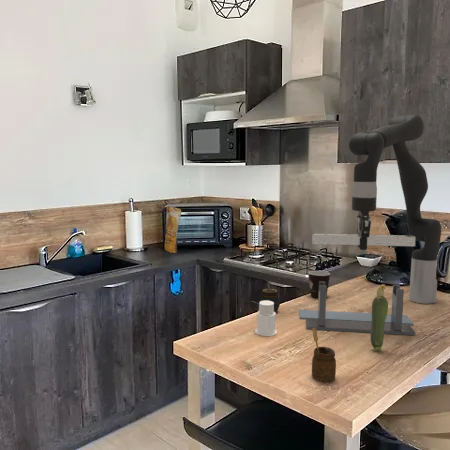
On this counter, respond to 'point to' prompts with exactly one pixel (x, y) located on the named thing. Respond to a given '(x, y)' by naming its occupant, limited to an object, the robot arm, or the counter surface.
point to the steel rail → (371, 240)
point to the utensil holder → (323, 362)
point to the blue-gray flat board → (348, 316)
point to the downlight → (266, 319)
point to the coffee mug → (317, 282)
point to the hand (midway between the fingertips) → (362, 248)
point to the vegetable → (378, 318)
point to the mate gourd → (271, 297)
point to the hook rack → (360, 326)
